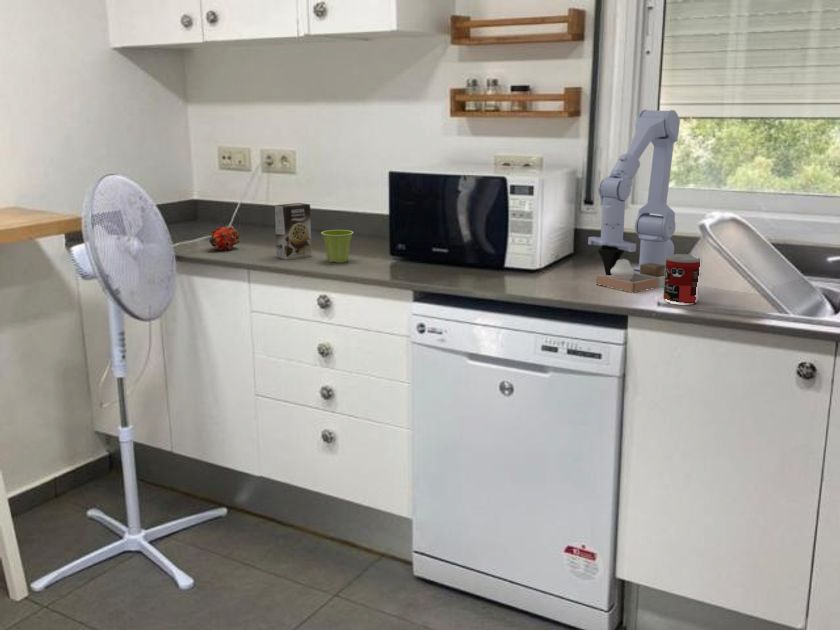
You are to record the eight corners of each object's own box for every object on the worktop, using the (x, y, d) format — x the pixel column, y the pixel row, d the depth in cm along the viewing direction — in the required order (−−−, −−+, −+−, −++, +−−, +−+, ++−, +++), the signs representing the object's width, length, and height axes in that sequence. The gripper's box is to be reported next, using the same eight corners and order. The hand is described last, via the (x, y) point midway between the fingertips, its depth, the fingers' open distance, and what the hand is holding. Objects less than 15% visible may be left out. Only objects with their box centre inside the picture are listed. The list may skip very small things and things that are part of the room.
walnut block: (650, 279, 229) (651, 262, 228) (663, 281, 225) (665, 265, 224) (639, 281, 226) (640, 264, 225) (653, 284, 223) (654, 267, 222)
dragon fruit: (241, 251, 278) (215, 263, 268) (223, 235, 279) (197, 245, 270) (249, 232, 273) (224, 243, 263) (231, 216, 274) (205, 226, 265)
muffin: (629, 288, 217) (631, 261, 216) (606, 285, 221) (607, 259, 219) (636, 283, 223) (638, 257, 221) (614, 281, 226) (615, 255, 224)
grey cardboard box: (286, 260, 255) (284, 206, 251) (276, 257, 260) (273, 204, 256) (312, 256, 261) (310, 204, 257) (301, 253, 266) (299, 202, 262)
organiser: (646, 274, 234) (646, 265, 233) (682, 282, 224) (683, 273, 224) (596, 284, 222) (596, 275, 221) (632, 293, 212) (633, 283, 212)
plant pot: (358, 262, 252) (358, 233, 250) (329, 265, 248) (328, 235, 245) (346, 257, 260) (345, 228, 258) (317, 259, 256) (316, 231, 253)
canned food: (658, 298, 207) (661, 254, 204) (690, 298, 207) (694, 253, 205) (669, 306, 199) (673, 260, 197) (702, 305, 200) (706, 259, 197)
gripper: (581, 221, 224) (578, 272, 228) (624, 228, 213) (621, 281, 216) (599, 219, 228) (596, 269, 232) (642, 226, 217) (639, 278, 220)
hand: (609, 274), depth 224 cm, fingers closed
